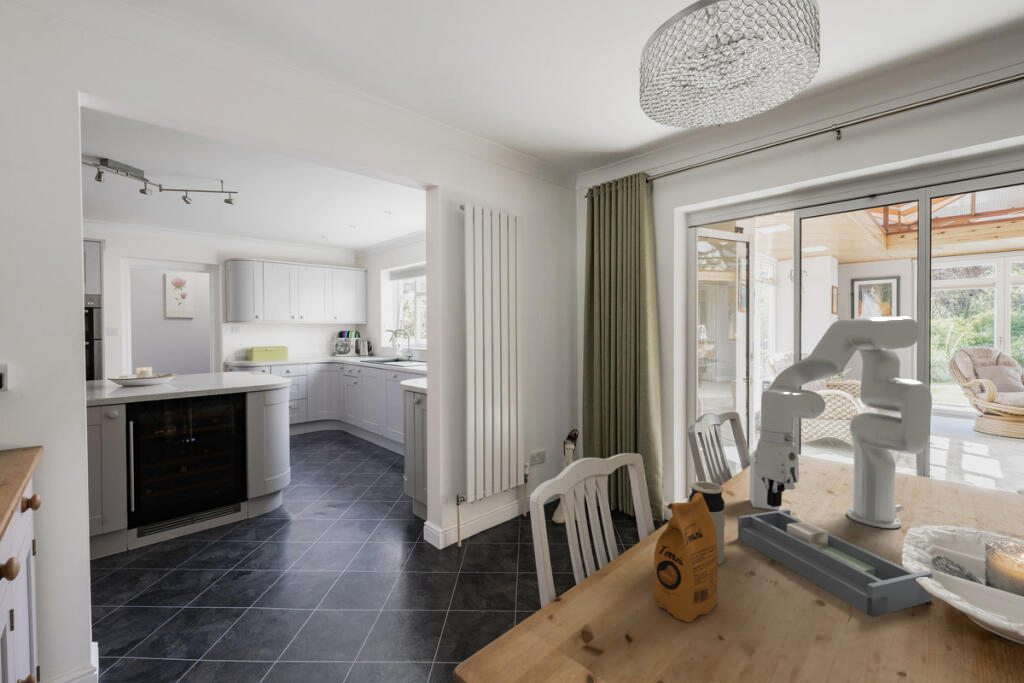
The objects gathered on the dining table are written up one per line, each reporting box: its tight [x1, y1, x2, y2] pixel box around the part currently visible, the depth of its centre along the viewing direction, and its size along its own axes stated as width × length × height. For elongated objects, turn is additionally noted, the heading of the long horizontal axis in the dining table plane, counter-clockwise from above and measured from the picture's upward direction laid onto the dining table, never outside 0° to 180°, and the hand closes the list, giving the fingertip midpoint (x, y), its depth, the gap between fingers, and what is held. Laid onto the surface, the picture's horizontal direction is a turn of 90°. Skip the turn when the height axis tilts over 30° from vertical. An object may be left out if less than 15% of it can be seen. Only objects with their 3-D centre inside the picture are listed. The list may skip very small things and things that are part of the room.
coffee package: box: [653, 493, 719, 623], centre depth 90 cm, size 10×12×22 cm
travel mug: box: [688, 480, 725, 566], centre depth 109 cm, size 8×8×18 cm
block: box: [787, 520, 829, 549], centre depth 109 cm, size 6×6×4 cm
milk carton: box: [749, 449, 780, 511], centre depth 141 cm, size 7×7×19 cm
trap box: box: [737, 508, 933, 618], centre depth 105 cm, size 17×34×6 cm, turn 16°
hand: (774, 505), depth 117 cm, fingers closed
